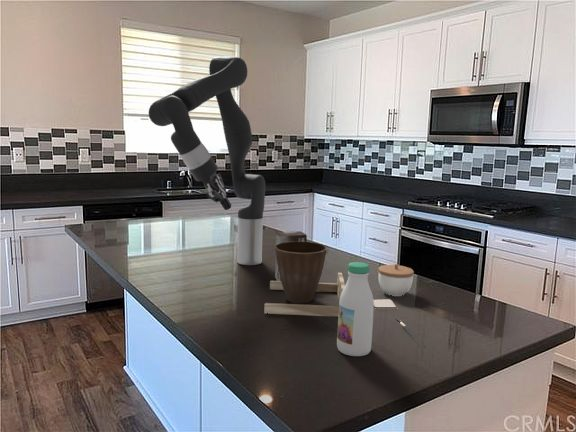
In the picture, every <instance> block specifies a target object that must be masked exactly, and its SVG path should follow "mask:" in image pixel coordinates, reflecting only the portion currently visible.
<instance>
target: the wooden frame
mask: <svg viewBox="0 0 576 432" xmlns="http://www.w3.org/2000/svg"><path fill="white" fill-rule="evenodd" d="M336 280H337V281H336V282H319V283H318V286H317V289H316V292H321V293H323V292H325V293H337V298H339V299H338V303H339V302H340V296H341V293H342V291H343V289H344V287H345V285H346V283H345V280H344V276H343V273H342V272H337V279H336ZM269 290H278V291H281V290H282V291H284V289H283V286H282V282H281V281H277V280H271V279H270V280H269ZM263 307H264V308H263V309H264V311H263V312H264V313H263V314H267V313H268V314H269V315H270V314H272V315H293V316H294V315H295V316H311V317H313V316H317V317H338V315H339V305H319V304H317V305H316V304H297V303H277V302H276V303H274V302H273V303H272V302H271V303H270V302H264V306H263Z"/></svg>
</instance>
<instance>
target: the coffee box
mask: <svg viewBox="0 0 576 432" xmlns="http://www.w3.org/2000/svg"><path fill="white" fill-rule="evenodd" d="M307 239H308V237H307V234H306V233H304V232H302V231H275V246H276V245H277V244H279V243H283V242H293V241H304V242H308V241H307ZM274 267H275V272H274V273H275V274H274V275H275V277H274V278H275V279H276V281H281V278H280V274H279V270H278V265H277V259H276V258H275V266H274Z"/></svg>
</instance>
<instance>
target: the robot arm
mask: <svg viewBox="0 0 576 432" xmlns="http://www.w3.org/2000/svg"><path fill="white" fill-rule="evenodd" d="M208 67H209V71H208V73H209V75H207V76H203V77H199V78H197V79H194V80H192V81H189V82H187V83H186V84H184V85H182V86H181V87H179V88H178V89H176V90H175V91H174V92H171V93H170V94H168V95H166V96H163V97H161V98H159V99H157V100H155V101H154V102H153V103H151V105H150V106H149V109H148V118H149V119H150V121H151V122H152V123H153V124H154V125H155V126H159V127H166V126H169V125H173V128H174V132H173V133H172V134H171V136H170V141H171V143H172V145H173V146H174V148H175V149H176V150H177V151H178V153H179V155H180V157H181V158H182V161H183V163H184V165H185V166H186V168H187V169H188V171H189V172H190V174H191V175H192V177H193V178H194V180H195V181H196V182H202V183H203V186H204V187H205V189H206V190H207V193H206V194H205V195H206V197H207V198H209V199H210V200H212V201H213V202H215V203H220V205H221V206H222V208H223V210H225V211H228V210H230V209H232V203H231V202H230V199H229V198H228V197H227V193H226V191H227V189H226V186H225V184H224V180H223V177H222V174H221V173H218V174H217V173H216V172H217V171H218V165H217V164H216V162H215V160H214V158H213V157H212V155H211V154H210V152H209V151H208V149H207V147H206V146H205V145H204V144H203V142H202V141H201V140H200V138H199V136H198V134H197V133H196V131H195V129H194V126H193V123H192V120H191V118H190V117H191V116H190V113H189V112H192V111H194V110H195V109H197V108H198V107H200V106H201V105H203V104H204V103H206V102H208V101H209V100H211V99H212V98H215V99H216V101H217V105H218V108H219V113H220V117H221V122H222V127H223V128H222V129H223V134H224V138H225V142H226V143H225V144H226V147H227V151H228V157H229V160H230V168H231V178H232V186H233V191H234V194H235V196H236V197H237V198H239V199H242V200H243V199H244V200H251V201H250V204H249V205H248V206H246V207H242V208H239V209H238V211H237V257H236V258H237V260H236V262H237V263H238V264H239V265H243V266H256V265H260V264H262V262H263V260H262V258H263V223H264V221H263V220H264V219H263V218H264V209H265V199H266V198H265V197H266V181H265V178H264V176H263V175H261V174H252V173H246V170H245V161H246V157H247V156H248V153H249V152H250V149H251V147H252V144H253V135H252V134H253V133H252V129H251V124H250V120H249V119H248V117H247V115H246V113H244V111H243V110H242V109H241V107H240V106H239V105H238V103H237V101H236V100H235V98H234V95H233V93H232V89H234V88H237V87H239V86H241V85H242V86H243V84H244V83H245V81H246V79H248V66H247V64H246V61H245V60H244V59H242V57H239V56H215V57H213V58H212V59H211V60H210V62H209V65H208Z"/></svg>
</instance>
